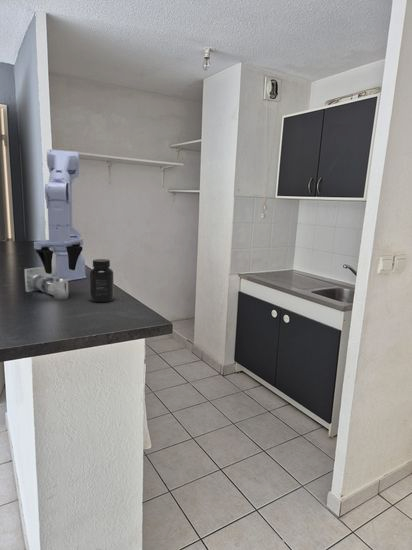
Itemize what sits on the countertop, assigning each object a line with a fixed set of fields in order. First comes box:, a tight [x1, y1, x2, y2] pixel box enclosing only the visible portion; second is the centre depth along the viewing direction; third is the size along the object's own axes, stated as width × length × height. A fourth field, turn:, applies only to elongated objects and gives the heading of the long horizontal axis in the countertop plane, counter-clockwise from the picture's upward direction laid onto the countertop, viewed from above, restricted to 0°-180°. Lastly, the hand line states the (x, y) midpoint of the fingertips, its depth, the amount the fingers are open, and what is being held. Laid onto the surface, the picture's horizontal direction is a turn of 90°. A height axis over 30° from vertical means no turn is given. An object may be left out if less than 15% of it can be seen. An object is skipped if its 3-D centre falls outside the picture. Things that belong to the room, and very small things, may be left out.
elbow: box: [44, 276, 69, 300], centre depth 113 cm, size 8×4×6 cm, turn 51°
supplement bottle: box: [89, 258, 115, 303], centre depth 111 cm, size 7×7×12 cm
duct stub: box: [24, 266, 53, 294], centre depth 117 cm, size 6×8×7 cm
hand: (60, 271), depth 111 cm, fingers open, 7 cm apart
